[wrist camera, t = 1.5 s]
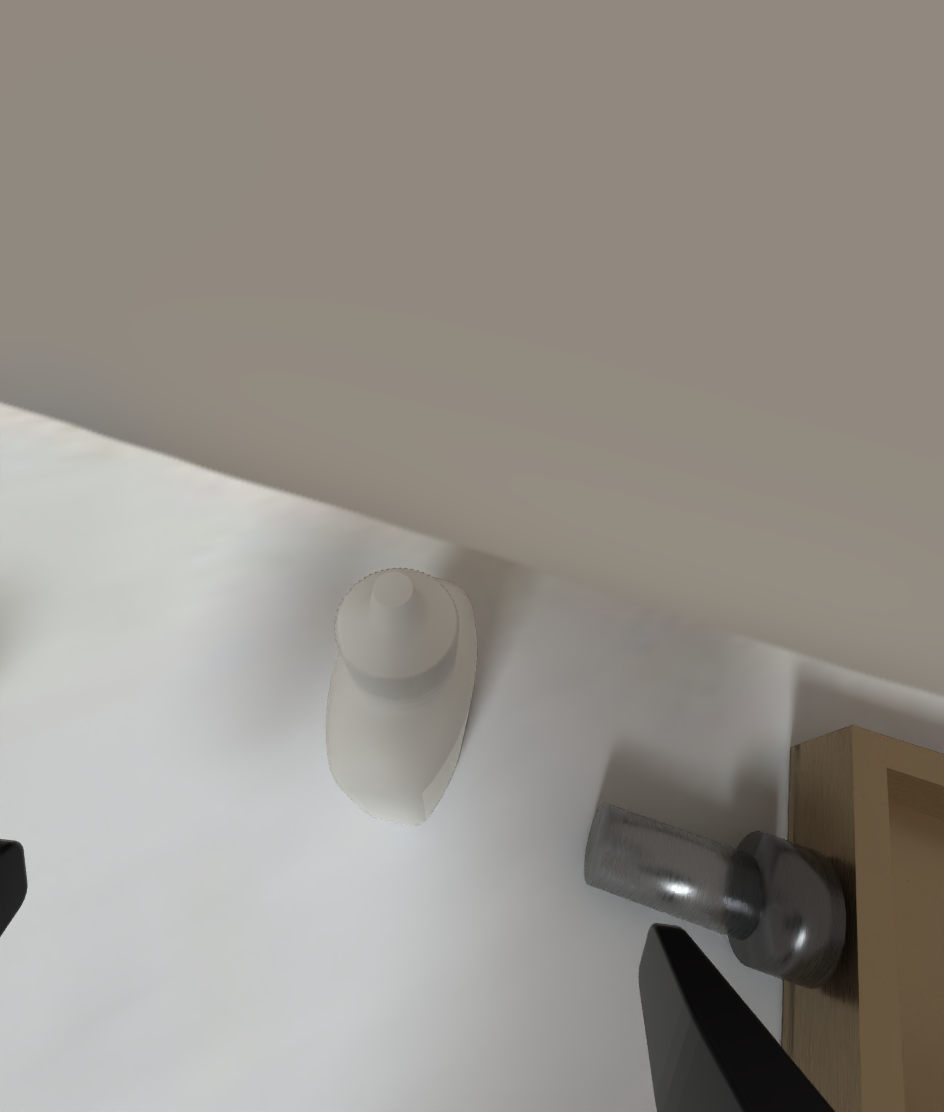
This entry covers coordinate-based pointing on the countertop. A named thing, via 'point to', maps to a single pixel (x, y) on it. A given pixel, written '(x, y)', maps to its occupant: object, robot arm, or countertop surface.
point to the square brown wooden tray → (874, 922)
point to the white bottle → (400, 692)
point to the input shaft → (728, 890)
